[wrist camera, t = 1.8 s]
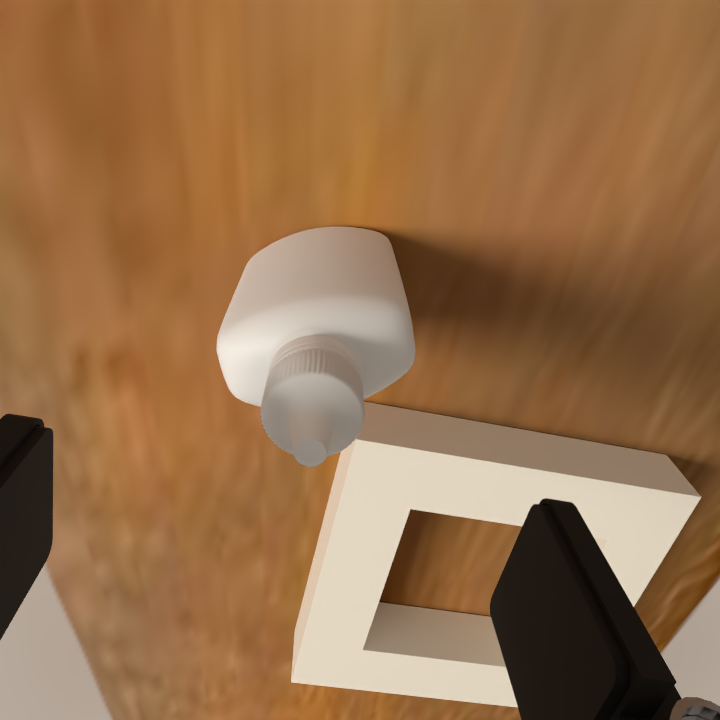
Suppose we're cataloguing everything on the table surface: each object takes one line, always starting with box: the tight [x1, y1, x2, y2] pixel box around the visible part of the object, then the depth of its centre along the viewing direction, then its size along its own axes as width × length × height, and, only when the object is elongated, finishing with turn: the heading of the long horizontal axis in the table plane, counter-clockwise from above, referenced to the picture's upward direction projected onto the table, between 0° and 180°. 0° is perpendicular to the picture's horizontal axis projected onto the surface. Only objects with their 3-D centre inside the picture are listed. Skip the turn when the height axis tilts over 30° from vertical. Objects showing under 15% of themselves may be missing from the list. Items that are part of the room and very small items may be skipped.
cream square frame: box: [291, 402, 701, 707], centre depth 29 cm, size 15×15×3 cm
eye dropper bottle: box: [217, 226, 416, 467], centre depth 18 cm, size 4×6×12 cm
